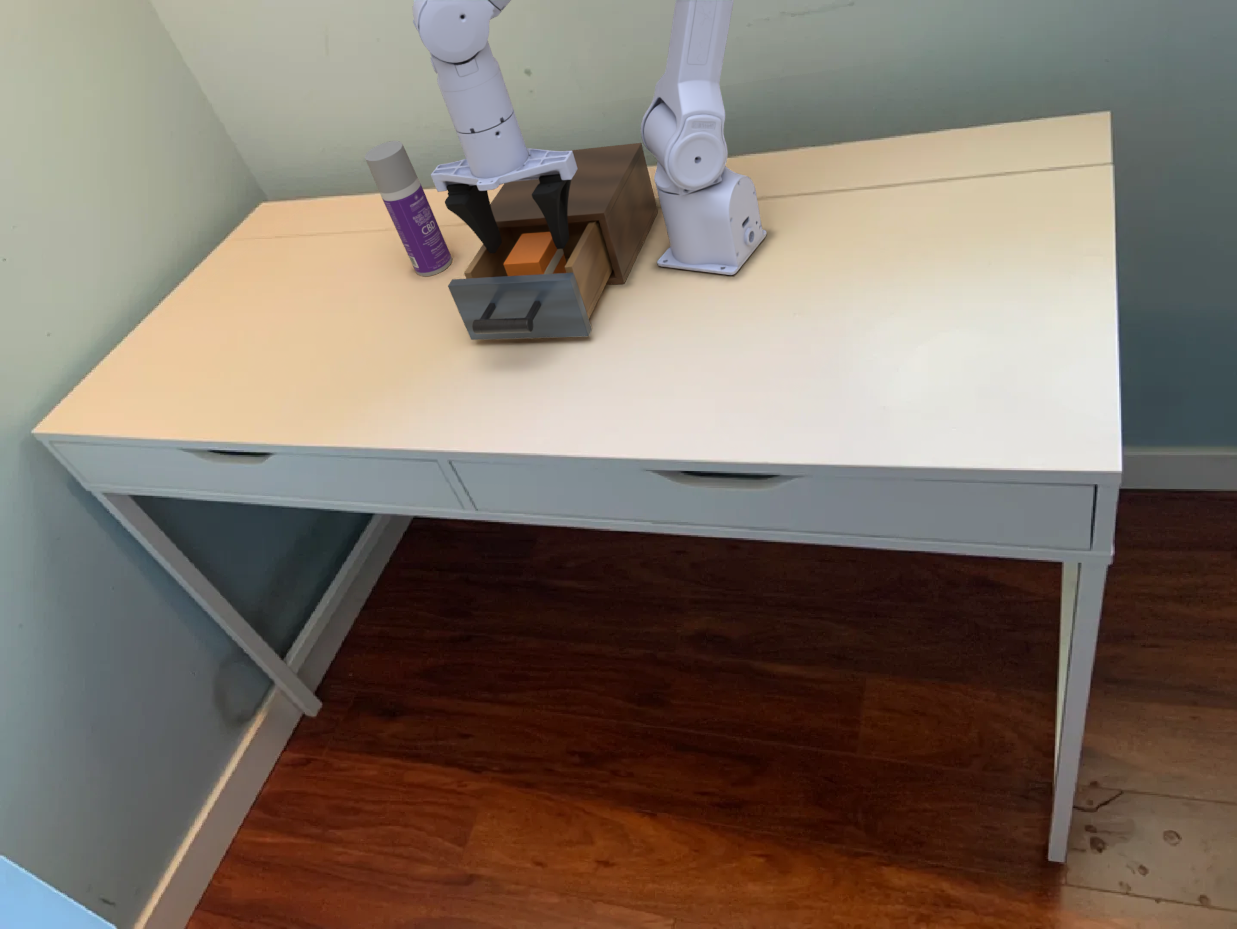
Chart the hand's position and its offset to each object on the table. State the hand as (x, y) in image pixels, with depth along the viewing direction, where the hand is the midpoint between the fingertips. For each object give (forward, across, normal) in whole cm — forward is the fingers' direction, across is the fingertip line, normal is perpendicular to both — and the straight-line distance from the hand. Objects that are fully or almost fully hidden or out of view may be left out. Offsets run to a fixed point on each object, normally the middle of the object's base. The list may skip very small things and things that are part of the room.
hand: (529, 245), depth 98 cm
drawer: (+7, 0, -2) cm, 7 cm away
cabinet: (+8, 0, +11) cm, 13 cm away
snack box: (+6, 0, 0) cm, 6 cm away
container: (+8, -19, +10) cm, 23 cm away
